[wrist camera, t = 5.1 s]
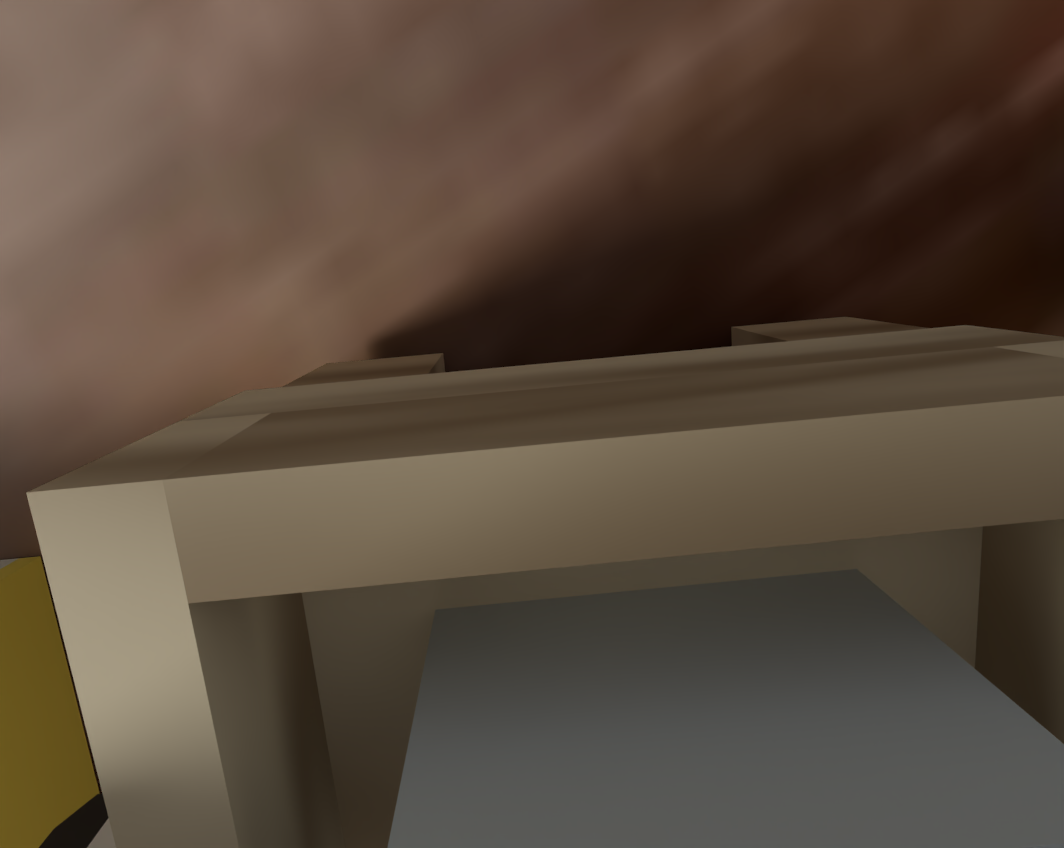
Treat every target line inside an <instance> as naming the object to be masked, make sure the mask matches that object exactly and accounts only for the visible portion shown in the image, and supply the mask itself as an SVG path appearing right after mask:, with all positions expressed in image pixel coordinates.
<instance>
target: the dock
mask: <svg viewBox="0 0 1064 848" xmlns="http://www.w3.org/2000/svg"><path fill="white" fill-rule="evenodd" d="M97 794H100V793H99V789H98V785H97V781H96V777H95V773H94V769H93V765H92V761H91V757H90V753H89V749H88V745H87V741H86V737H85V733H84V729H83V725H82V721H81V717H80V713H79V709H78V705H77V701H76V697H75V693H74V689H73V685H72V681H71V677H70V673H69V669H68V665H67V661H66V657H65V653H64V649H63V645H62V641H61V637H60V632H59V628H58V624H57V620H56V616H55V612H54V608H53V604H52V600H51V596H50V592H49V588H48V584H47V580H46V576H45V572H44V568H43V564H42V560H41V556H38V557H27V558H17V559H6V560H0V848H39V847H40V845H41V844H42V843H43V842H44V840H45V839H46V838H47V837H48V835H49V834H50V833H51V832H52V830H53V829H54V828H55V827H57V826H58V825H59V824H60V823H62V822H63V821H64V820H65V819H67V818H68V817H69V816H70V815H72V814H73V813H74V812H75V811H77V810H78V809H79V808H81V807H82V806H83V805H84V804H86V803H87V802H88V801H89V800H91V799H92V798H93V797H94V796H96V795H97Z"/></svg>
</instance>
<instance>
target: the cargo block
mask: <svg viewBox="0 0 1064 848" xmlns="http://www.w3.org/2000/svg"><path fill="white" fill-rule="evenodd" d="M387 848H1064V744H1063V743H1062V742H1061V741H1060V740H1058V739H1057V738H1056V737H1055V736H1054V735H1052V734H1051V733H1050V732H1049V731H1048V730H1047V729H1045V728H1044V727H1043V726H1042V725H1041V724H1039V723H1038V722H1037V721H1036V720H1035V719H1034V718H1032V717H1031V716H1030V715H1029V714H1028V713H1026V712H1025V711H1024V710H1023V709H1022V708H1021V707H1019V706H1018V705H1017V704H1016V703H1015V702H1013V701H1012V700H1011V699H1010V698H1009V697H1008V696H1006V695H1005V694H1004V693H1003V692H1002V691H1000V690H999V689H998V688H997V687H996V686H995V685H993V684H992V683H991V682H990V681H989V680H987V679H986V678H985V677H984V676H983V675H982V674H980V673H979V672H978V671H977V670H976V669H974V668H973V667H972V666H971V665H970V664H969V663H967V662H966V661H965V660H964V659H963V658H961V657H960V656H959V655H958V654H957V653H956V652H954V651H953V650H952V649H951V648H950V647H948V646H947V645H946V644H945V643H944V642H943V641H941V640H940V639H939V638H938V637H937V636H935V635H934V634H933V633H932V632H931V631H930V630H928V629H927V628H926V627H925V626H924V625H922V624H921V623H920V622H919V621H918V620H917V619H915V618H914V617H913V616H912V615H911V614H909V613H908V612H907V611H906V610H905V609H904V608H902V607H901V606H900V605H899V604H898V603H896V602H895V601H894V600H893V599H892V598H891V597H889V596H888V595H887V594H886V593H885V592H883V591H882V590H881V589H880V588H879V587H878V586H876V585H875V584H874V583H873V582H872V581H871V580H869V579H868V578H867V577H866V576H865V575H863V574H862V573H861V572H860V571H859V570H858V569H851V570H841V571H830V572H820V573H809V574H799V575H789V576H778V577H768V578H758V579H747V580H737V581H727V582H716V583H706V584H696V585H685V586H675V587H665V588H654V589H644V590H634V591H623V592H613V593H602V594H592V595H582V596H571V597H561V598H551V599H540V600H530V601H520V602H509V603H499V604H489V605H478V606H468V607H458V608H447V609H437V610H435V614H434V619H433V624H432V628H431V633H430V638H429V643H428V648H427V653H426V658H425V663H424V668H423V673H422V678H421V683H420V688H419V693H418V698H417V703H416V708H415V713H414V718H413V723H412V728H411V733H410V738H409V743H408V748H407V753H406V758H405V763H404V768H403V773H402V778H401V783H400V788H399V793H398V798H397V802H396V807H395V812H394V817H393V822H392V827H391V832H390V837H389V842H388V847H387Z"/></svg>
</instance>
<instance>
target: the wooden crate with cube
mask: <svg viewBox="0 0 1064 848" xmlns="http://www.w3.org/2000/svg"><path fill="white" fill-rule="evenodd" d="M731 333H732V346H730V347H719V348H708V349H697V350H686V351H675V352H664V353H653V354H642V355H631V356H620V357H609V358H598V359H587V360H576V361H565V362H554V363H543V364H532V365H521V366H510V367H499V368H488V369H477V370H466V371H455V372H445V365H444V356H443V353H438V354H427V355H416V356H405V357H393V358H382V359H371V360H360V361H349V362H338V363H327V364H325V365H323V366H321V367H319V368H317V369H315V370H313V371H311V372H310V373H308V374H306V375H304V376H302V377H300V378H298V379H296V380H294V381H293V382H291V383H289V384H287V385H285V386H283V387H280V388H269V389H258V390H247V391H243V392H241V393H239V394H237V395H234V396H232V397H230V398H228V399H226V400H224V401H222V402H219V403H217V404H215V405H213V406H211V407H209V408H207V409H204V410H202V411H200V412H198V413H196V414H194V415H191V416H189V417H187V418H185V419H183V420H181V421H179V422H176V423H174V424H172V425H170V426H168V427H166V428H164V429H161V430H159V431H157V432H155V433H153V434H151V435H149V436H146V437H144V438H142V439H140V440H138V441H136V442H134V443H131V444H129V445H127V446H125V447H123V448H121V449H119V450H116V451H114V452H112V453H110V454H108V455H106V456H104V457H101V458H99V459H97V460H95V461H93V462H91V463H89V464H86V465H84V466H82V467H80V468H78V469H76V470H74V471H71V472H69V473H67V474H65V475H63V476H61V477H59V478H56V479H54V480H52V481H50V482H48V483H46V484H43V485H41V486H39V487H37V488H35V489H33V490H31V491H28V492H26V494H27V498H28V502H29V506H30V510H31V514H32V517H33V521H34V525H35V529H36V533H37V537H38V541H39V545H40V549H41V553H42V557H43V561H44V565H45V569H46V573H47V577H48V581H49V585H50V588H51V592H52V596H53V600H54V604H55V608H56V612H57V616H58V620H59V624H60V628H61V632H62V636H63V640H64V644H65V648H66V652H67V655H68V659H69V663H70V667H71V671H72V675H73V679H74V683H75V687H76V691H77V695H78V699H79V703H80V707H81V711H82V715H83V719H84V723H85V726H86V730H87V734H88V738H89V742H90V746H91V750H92V754H93V758H94V762H95V766H96V770H97V774H98V778H99V782H100V786H101V790H102V794H103V797H104V801H105V805H106V809H107V813H108V817H109V821H110V825H111V829H112V833H113V837H114V841H115V845H116V848H387V847H388V842H389V837H390V832H391V827H392V822H393V817H394V812H395V807H396V802H397V798H398V793H399V788H400V783H401V778H402V773H403V768H404V763H405V758H406V753H407V748H408V743H409V738H410V733H411V728H412V723H413V718H414V713H415V708H416V703H417V698H418V693H419V688H420V683H421V678H422V673H423V668H424V663H425V658H426V653H427V648H428V643H429V638H430V633H431V628H432V624H433V619H434V614H435V610H437V609H447V608H458V607H468V606H478V605H489V604H499V603H509V602H520V601H530V600H540V599H551V598H561V597H571V596H582V595H592V594H602V593H613V592H623V591H634V590H644V589H654V588H665V587H675V586H685V585H696V584H706V583H716V582H727V581H737V580H747V579H758V578H768V577H778V576H789V575H799V574H809V573H820V572H830V571H841V570H851V569H858V570H859V571H860V572H861V573H862V574H863V575H865V576H866V577H867V578H868V579H869V580H871V581H872V582H873V583H874V584H875V585H876V586H878V587H879V588H880V589H881V590H882V591H883V592H885V593H886V594H887V595H888V596H889V597H891V598H892V599H893V600H894V601H895V602H896V603H898V604H899V605H900V606H901V607H902V608H904V609H905V610H906V611H907V612H908V613H909V614H911V615H912V616H913V617H914V618H915V619H917V620H918V621H919V622H920V623H921V624H922V625H924V626H925V627H926V628H927V629H928V630H930V631H931V632H932V633H933V634H934V635H935V636H937V637H938V638H939V639H940V640H941V641H943V642H944V643H945V644H946V645H947V646H948V647H950V648H951V649H952V650H953V651H954V652H956V653H957V654H958V655H959V656H960V657H961V658H963V659H964V660H965V661H966V662H967V663H969V664H970V665H971V666H972V667H973V668H974V669H976V670H977V671H978V672H979V673H980V674H982V675H983V676H984V677H985V678H986V679H987V680H989V681H990V682H991V683H992V684H993V685H995V686H996V687H997V688H998V689H999V690H1000V691H1002V692H1003V693H1004V694H1005V695H1006V696H1008V697H1009V698H1010V699H1011V700H1012V701H1013V702H1015V703H1016V704H1017V705H1018V706H1019V707H1021V708H1022V709H1023V710H1024V711H1025V712H1026V713H1028V714H1029V715H1030V716H1031V717H1032V718H1034V719H1035V720H1036V721H1037V722H1038V723H1039V724H1041V725H1042V726H1043V727H1044V728H1045V729H1047V730H1048V731H1049V732H1050V733H1051V734H1052V735H1054V736H1055V737H1056V738H1057V739H1058V740H1060V741H1061V742H1062V743H1063V744H1064V337H1062V336H1054V335H1045V334H1037V333H1028V332H1020V331H1012V330H1003V329H995V328H986V327H978V326H970V325H961V326H950V327H939V328H925V327H918V326H910V325H903V324H896V323H888V322H881V321H874V320H866V319H859V318H852V317H836V318H825V319H814V320H803V321H792V322H781V323H769V324H758V325H747V326H736V327H731Z"/></svg>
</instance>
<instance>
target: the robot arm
mask: <svg viewBox="0 0 1064 848" xmlns="http://www.w3.org/2000/svg"><path fill="white" fill-rule="evenodd" d="M39 848H116V845H115V841H114V837H113V833H112V829H111V825H110V821H109V817H108V813H107V809H106V805H105V801H104V797H103V794H97V795H96V796H94V797H93V798H92V799H91V800H89V801H88V802H87V803H86V804H84V805H83V806H82V807H81V808H79V809H78V810H77V811H75V812H74V813H73V814H72V815H70V816H69V817H68V818H67V819H65V820H64V821H63V822H62V823H60V824H59V825H58V826H57V827H55V828H54V829H53V830H52V832H51V833H50V834H49V835H48V837H47V838H46V839H45V840H44V842H43V843H42V844H41V845H40V847H39Z"/></svg>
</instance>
